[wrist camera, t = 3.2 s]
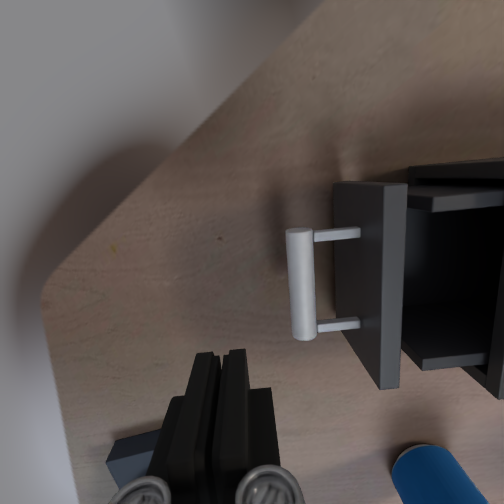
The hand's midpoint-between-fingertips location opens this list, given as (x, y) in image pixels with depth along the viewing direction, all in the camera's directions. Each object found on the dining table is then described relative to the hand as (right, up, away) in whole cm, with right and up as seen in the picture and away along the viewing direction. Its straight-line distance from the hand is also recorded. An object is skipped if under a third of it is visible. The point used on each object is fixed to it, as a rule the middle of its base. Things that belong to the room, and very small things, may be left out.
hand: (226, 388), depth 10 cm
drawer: (+12, +5, +13) cm, 18 cm away
